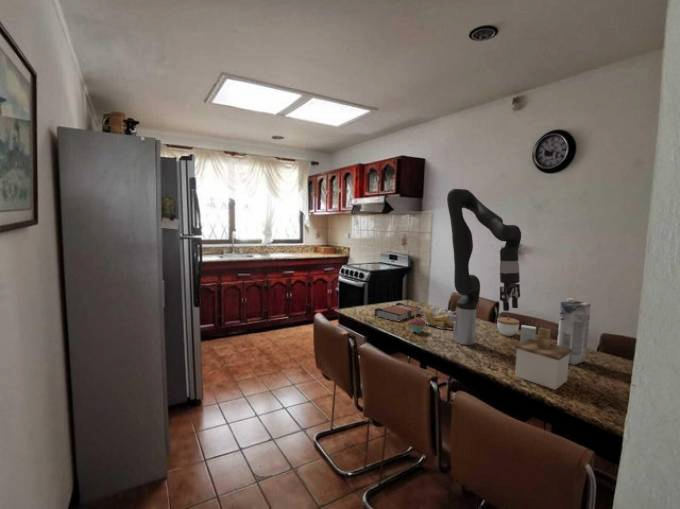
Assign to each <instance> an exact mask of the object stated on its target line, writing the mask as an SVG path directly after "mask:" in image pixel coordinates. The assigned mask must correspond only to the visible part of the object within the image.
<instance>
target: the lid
mask: <svg viewBox="0 0 680 509" xmlns="http://www.w3.org/2000/svg"><path fill="white" fill-rule="evenodd" d="M537 330H538V331H537V340H536V339H535V340H533V339H527V340H525V341H523V342H521V343H520V342H518V343H517V344H515V345H514V348H515V349H516V350H517V349H520V350H523V351H527V352H530V353H534V354H538V355H541V356H545V357H548V358H552V359H555V360H561V359H562V358H564V357H565V356H567V355H568V354H570V353H571V352H572V349H569V348H565V347H561V346H557V344H551V332H552V329H550V328H547V327H542V326H541V327H539V328H538V329H537Z"/></svg>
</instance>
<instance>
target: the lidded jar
mask: <svg viewBox="0 0 680 509" xmlns="http://www.w3.org/2000/svg"><path fill="white" fill-rule="evenodd" d="M496 321H497V322H496V323H497V324H496V325H497V329H498V331H499V333H501V335H503V336H507V337H513V336H514V335H516V334H517V332H519V331H518V330H519V328H520V320H518V319H516V318H512V317H510V316H507V317H505V316H504V317H502V316H500V317H498V318H497V319H496Z"/></svg>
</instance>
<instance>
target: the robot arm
mask: <svg viewBox="0 0 680 509" xmlns="http://www.w3.org/2000/svg"><path fill="white" fill-rule="evenodd" d="M446 200H447V208H448V213H449V219H450V227H451V236H452V237H451V239H452V241H451V242H452V248H453V249H452V250H453V263H454V280H453V281H454V289H455V291H456V292H457V293H458V294H459V295H461V296H460V298H459V299H458V300H457V302H456V306H455V307H456V308H455V311H456V315H455V316H456V321H455V322H454V327H453V330H452V341H453V340H454V341H453V342H455V343H456V344H460V345H466V346H467V345H468V346H472V345H474V344H475V339H476V338H475V337H476V336H475V335H476V321H477V319H476V318H477V306H478V304H479V301H480V294H481V281H480V278H478V276H476V275H475V274H470V271H469V270H470V269H469V266H470V261H471V257H472V254H473V249H474V242H473V241H474V240H473V233H472V231H471V229H470V227H469V225H468V224H467V222H466V220H465V218H464V215H463V209H466V210H468V211H470V212H472V213H473V214H474V216H475V217H476V219H477V221H478V222H479V223H480V224H481V225H483V226H484V227H485V228H486V229H488V230H489V231H490V233H491V234H492V235H493V236H494V238H495V239H497V240H498V241H500V242H505V243H504V244H505V245H504V247H501V248H500V250H499V261H500V262H499V281H500V283H501V284H503V286H499V301H501V302H502V306H503V307H502V308H503V311H504V312H509V311H510V300H511V308H513V309H518V308H519V298H521V289H520V288H521V286H520V284H519V283H520V281H521V280H520V264H519V248H520V245H521V241H522V231H521V229H520V227H519V226H518V225H517V224H516V225H515V224H505V223H504V220H503V218H502V217H501V216H500V215H498V214H496V213H495V212H494V211H492V210H491V209H489V208H488V207H487V206H486V205H485V204H483V203H482V202H481V201H480V200H479V199H478V197H476V196H475V195H474V194H473V193H472V192H471V191H470V190H468V189H466V188H464V189H463V188H452V189H450V190H449V192H448V193H447V198H446ZM510 298H511V299H510Z"/></svg>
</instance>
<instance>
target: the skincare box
mask: <svg viewBox="0 0 680 509" xmlns="http://www.w3.org/2000/svg"><path fill="white" fill-rule="evenodd" d="M536 336H537V327H536V326H532V325H527V324H526V325H525V324H521V327H520V337H519V338H520V341H519V343H521V342H523V341H525V340H527V339H533V340H536Z"/></svg>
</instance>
